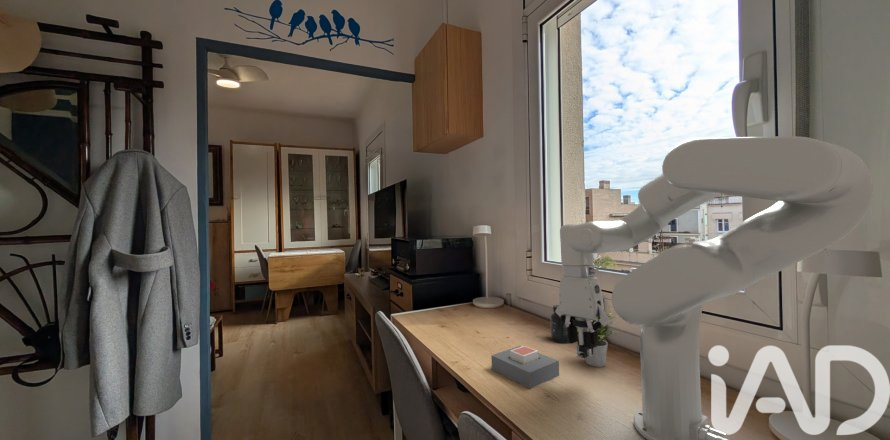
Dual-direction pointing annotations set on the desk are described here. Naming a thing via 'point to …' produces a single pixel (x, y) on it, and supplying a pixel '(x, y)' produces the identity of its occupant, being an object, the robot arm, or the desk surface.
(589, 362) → the house plant
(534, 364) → the grey button box
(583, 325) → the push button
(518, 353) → the breaker button
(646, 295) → the robot arm
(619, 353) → the desk surface
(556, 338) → the supplement bottle
